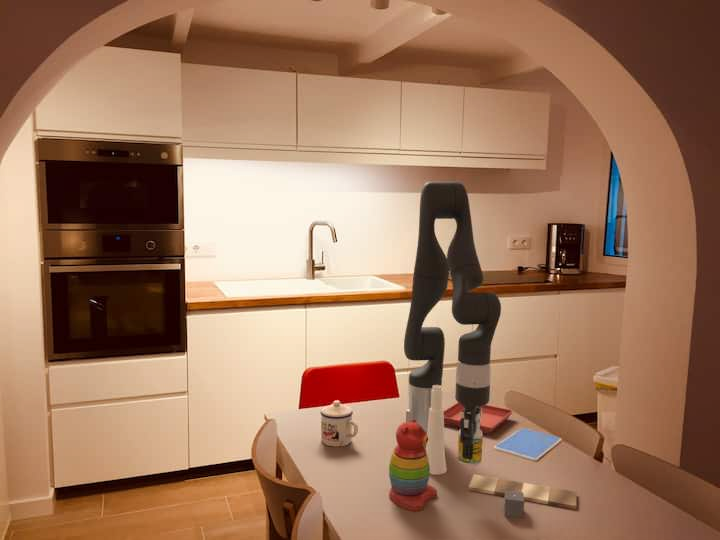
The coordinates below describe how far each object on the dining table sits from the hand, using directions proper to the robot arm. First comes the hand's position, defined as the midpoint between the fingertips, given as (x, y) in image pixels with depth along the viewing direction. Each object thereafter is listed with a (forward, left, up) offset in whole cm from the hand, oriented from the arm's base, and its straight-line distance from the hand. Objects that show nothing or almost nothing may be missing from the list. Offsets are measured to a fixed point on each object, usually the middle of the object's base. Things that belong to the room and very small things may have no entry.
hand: (469, 452), depth 133 cm
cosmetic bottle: (-11, +13, -12) cm, 20 cm away
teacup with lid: (-40, +20, -12) cm, 46 cm away
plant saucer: (-7, +51, -12) cm, 53 cm away
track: (+11, +9, -12) cm, 18 cm away
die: (+10, -1, -12) cm, 16 cm away
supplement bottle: (0, 0, -2) cm, 2 cm away
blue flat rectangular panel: (+10, +39, -12) cm, 42 cm away
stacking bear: (-13, -3, -12) cm, 18 cm away
